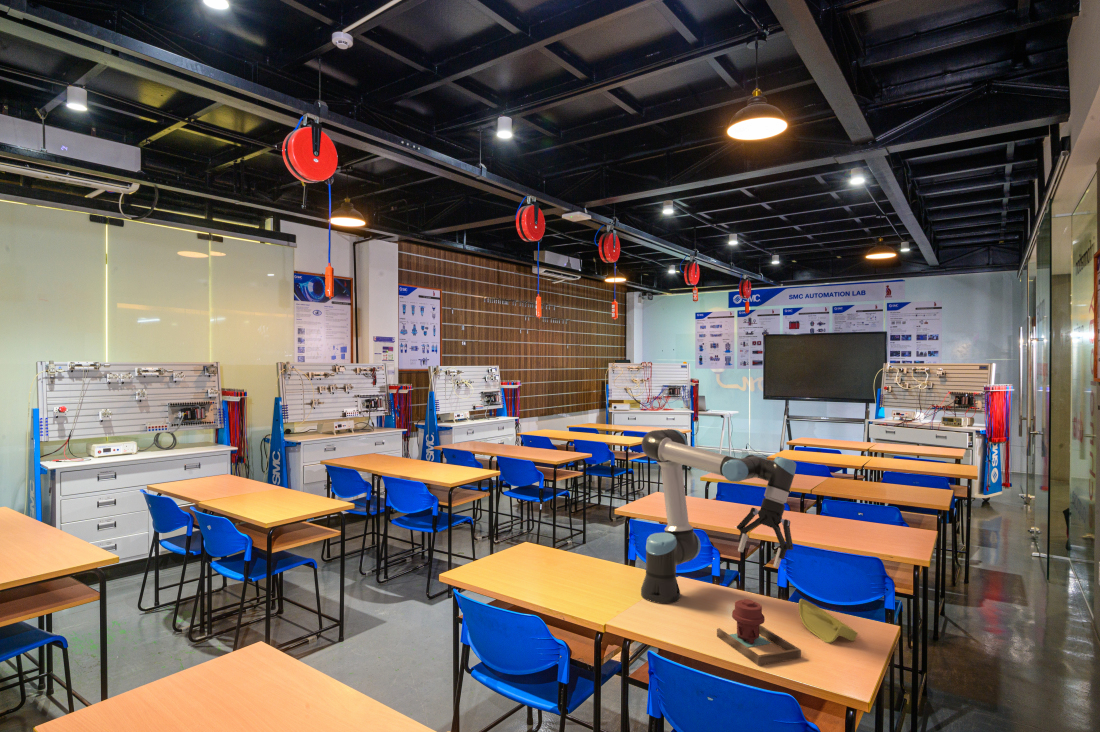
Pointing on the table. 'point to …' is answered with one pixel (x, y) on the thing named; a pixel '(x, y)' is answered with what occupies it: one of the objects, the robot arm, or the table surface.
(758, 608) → the mechanical component
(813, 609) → the plastic component
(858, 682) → the table surface
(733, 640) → the bay
